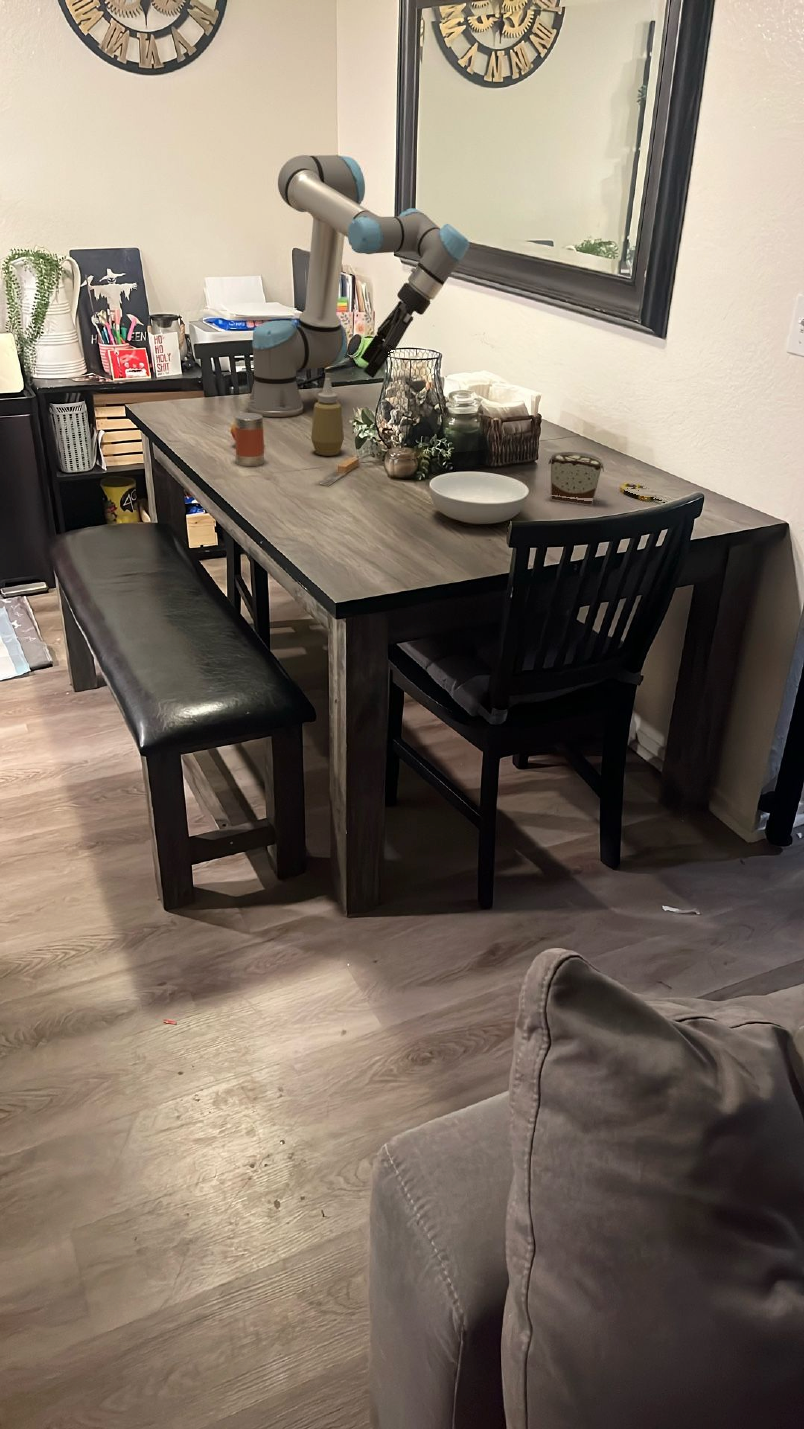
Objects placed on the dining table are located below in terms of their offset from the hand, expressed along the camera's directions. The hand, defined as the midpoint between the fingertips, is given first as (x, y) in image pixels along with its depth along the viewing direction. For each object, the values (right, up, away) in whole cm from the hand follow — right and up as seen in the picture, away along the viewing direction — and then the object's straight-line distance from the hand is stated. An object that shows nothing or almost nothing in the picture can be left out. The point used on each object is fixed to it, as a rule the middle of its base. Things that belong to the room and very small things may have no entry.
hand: (366, 367), depth 256 cm
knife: (-6, -27, -7) cm, 29 cm away
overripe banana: (+64, -35, -14) cm, 74 cm away
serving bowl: (+24, -42, -30) cm, 57 cm away
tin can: (-28, -23, -1) cm, 36 cm away
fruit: (-30, -16, +11) cm, 36 cm away
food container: (+47, -35, -16) cm, 61 cm away
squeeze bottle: (-10, -19, +8) cm, 23 cm away
